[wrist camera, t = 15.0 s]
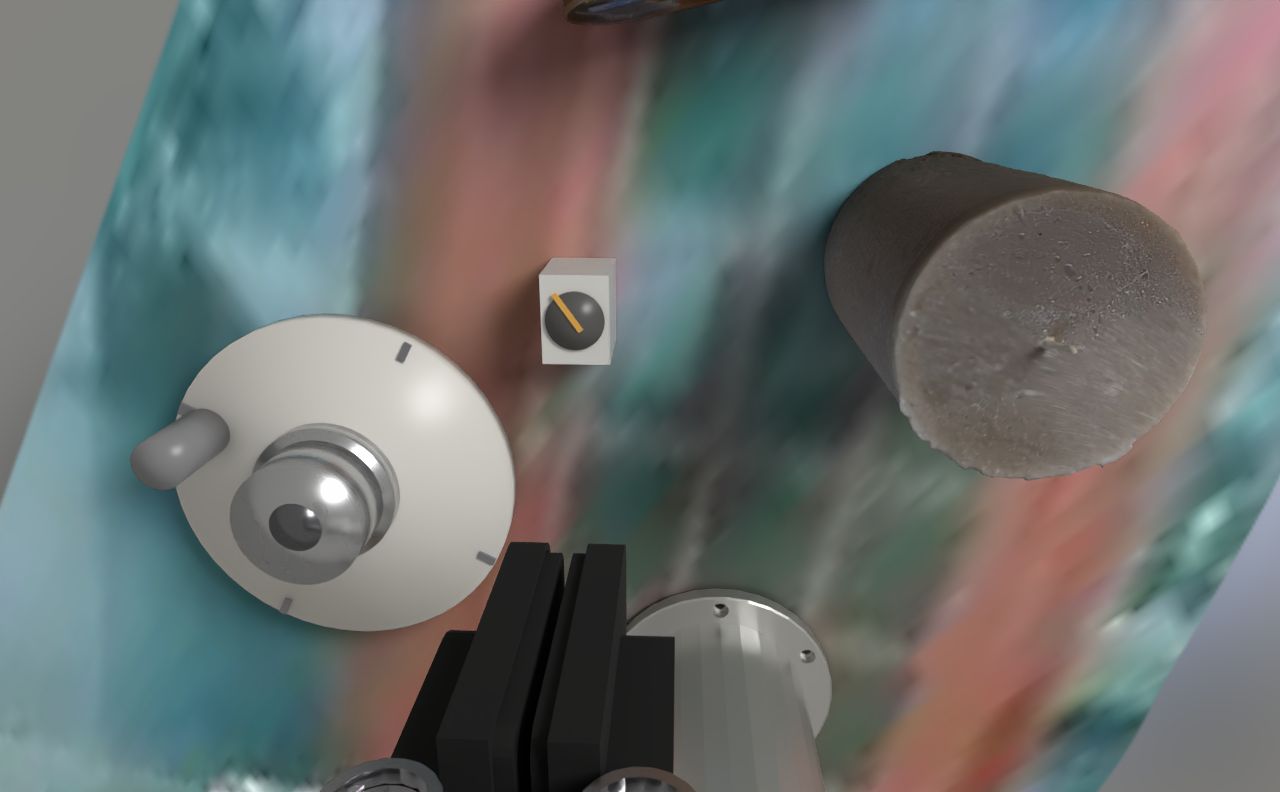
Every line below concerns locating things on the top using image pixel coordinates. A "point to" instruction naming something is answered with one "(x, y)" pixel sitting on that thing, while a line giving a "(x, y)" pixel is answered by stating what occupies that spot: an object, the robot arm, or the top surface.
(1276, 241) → the top surface
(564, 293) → the dial gauge
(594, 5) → the tin
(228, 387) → the white disc with knobs
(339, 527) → the door knob
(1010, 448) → the pillar candle
